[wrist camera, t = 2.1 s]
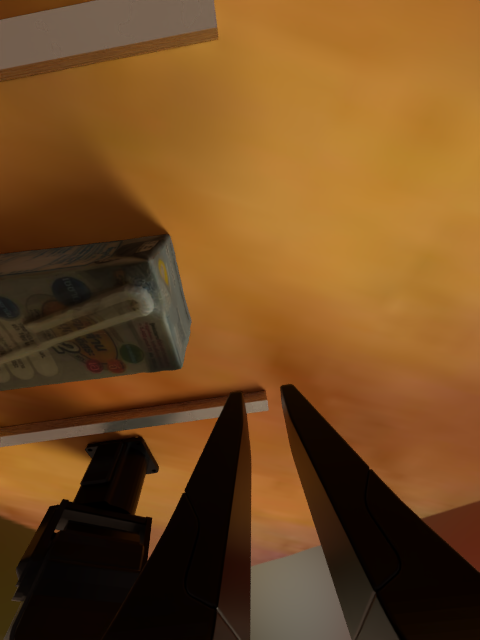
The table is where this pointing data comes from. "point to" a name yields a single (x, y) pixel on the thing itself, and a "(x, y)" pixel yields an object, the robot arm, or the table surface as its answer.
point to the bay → (87, 48)
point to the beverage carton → (91, 312)
